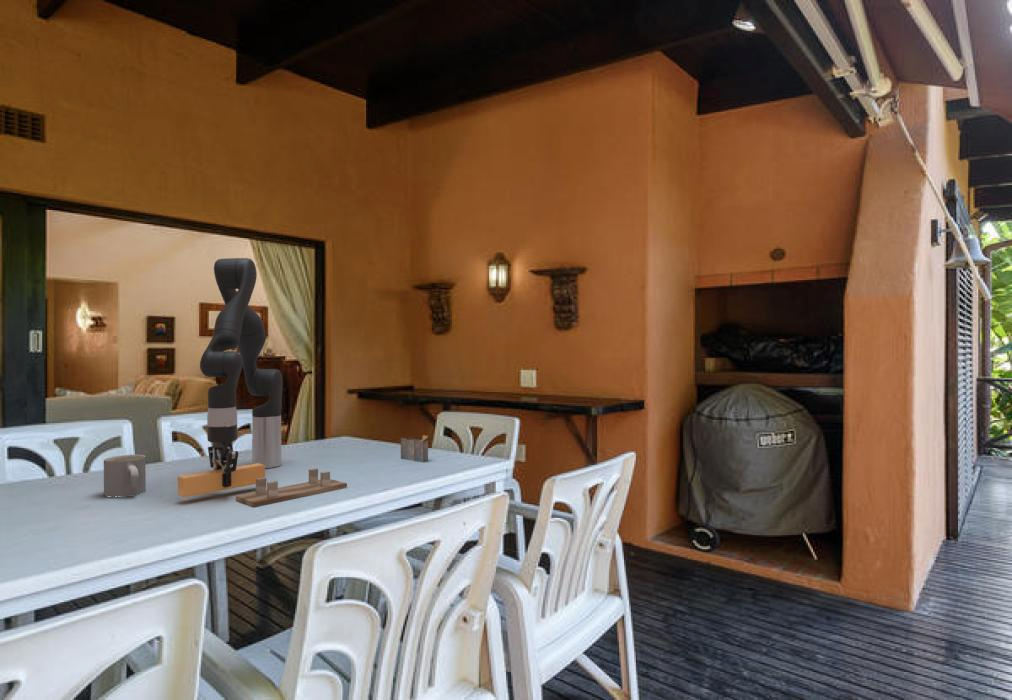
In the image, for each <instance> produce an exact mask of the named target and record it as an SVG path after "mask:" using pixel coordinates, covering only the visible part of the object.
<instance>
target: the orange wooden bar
mask: <svg viewBox="0 0 1012 700" xmlns="http://www.w3.org/2000/svg"><path fill="white" fill-rule="evenodd" d="M222 474H223V473H222V469H219V470H213V469H212V470H208V471H200V472H196V473H190V474H183V475H178V476H177V495H178V496H180V497H182V498H188V497H189V498H190V497H194V496H199V495H204V494H211V493H216V492H220V491H226V490H231V489H236V488H242V487H247V486H253V485H256V479H258V478H266V468H265V465H263V464H260V463H256V464H252V463H251V464H244V465H238V466H236V471H233V472H232V473H231V486H230V487H223V486H222Z"/></svg>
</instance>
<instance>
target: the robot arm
mask: <svg viewBox="0 0 1012 700" xmlns="http://www.w3.org/2000/svg"><path fill="white" fill-rule="evenodd" d="M213 273H214V278H215V281H216V285H217V287H218V290H219V292H220V295H221V297H222V299H223V302H224V305H225V306H223V308H222V309H221V310H220V312H219V313H218V315H217V317H216V318H215V323H214V326H213V327H214V328H213V334H212V337H211V339H210V341H209V342H208V346H207V347H206V349H204V352H203V354H202V355H201V357H200V361H199V367H200V371H201V374H202V375H204V376H205V377H209V378H217V377H218V378H226V381H225V382H224V383H222V384H218V385H213V386H211V387H209V388H208V390H207V413H206V414H207V415H206V416H207V417H206V421H207V422H206V423H207V425H206V426H207V427H206V428H207V433H206V435H207V437H206V438H207V442H209V443H212V445H211V446H208V447H207V453H208V457H209V466H210V468H212V471H213V470H219V469H222V473H223V474H222V486H223V487H230V486H231V473H232V472H233V471H236V467H237V465H238V457H239V451H238V450H236V451H235V450H234V447H233V442H234V441H236V440H237V439H238V409H237V390H238V388H237V387H238V383H239V379H240V377H241V376H240V375H241V373H242V369H243V375H244V379H245V385H246V388H247V391H248V393H249V394H250V395H251V396H255V397H268V400H267V401H266V402H265V403H263V404H261V405H257V406H255V407H254V408H252V409H251V410H252V411H251V416H252V417H251V419H252V422H251V423H252V425H251V426H252V429H251V430H252V433H251V434H252V436H251V437H252V438H251V450H252V451H251V457H252V458H251V464H256V463H260V464H263V465H265V469H270V468H271V469H273V468H278V467H280V466H282V408H283V407H282V405H283V404H282V400H283V399H282V398H283V384H284V383H283V382H284V381H283V374H282V372H281V370H280V369H278V368H276V369H275V368H271V369H270V368H259V367H258V365H257V360H258V358H259V355H260V353H261V351H262V350H263V348H264V346H265V343H266V341H267V334H266V331H265V327H264V322H263V320H262V318H261V317H260V316H259V314H258V312H256V311H255V310H254V309H253V308H252V307H250V306H249V304H250V301H251V299H252V296H253V292H254V289H255V286H256V283H257V273H258V271H257V267H256V264H255V262H254V260H253V259H252V258H248V257H246V258H245V257H237V258H236V257H235V258H233V257H232V258H227V257H226V258H218V259H216V261H215V262H214V266H213ZM236 289H237V290H236ZM236 348H238V352H237V351H231V350H233V349H236ZM229 350H230V351H229Z"/></svg>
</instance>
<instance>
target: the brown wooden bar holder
mask: <svg viewBox="0 0 1012 700" xmlns="http://www.w3.org/2000/svg"><path fill="white" fill-rule="evenodd" d="M319 474H320V475H319ZM319 478H320V479H319ZM278 485H279V482H278V481H277V480H273V481H268V482H267V478H266V477H265V478H258V479H256V484H255V492H251V493H244V494H241V495H236V496H235V501H236V502H239V503H242V504H243V505H247V506H250V507H252V508H257V507H261V506H265V505H271V504H276V503H280V502H285V501H286V502H287V501H289V500H295V499H300V498H305V497H307V496H313V495H318V494H323V493H327V492H332V491H336V490H341V489H346V487H347V488H348V483H347V482H343V481H339V480H336V479H332V478H331V471H328V470H326V471H322V472H320V473H319V468H311V469H308V481H307V482H301V483H297V484H291V485H287V486H281V487H279V486H278Z"/></svg>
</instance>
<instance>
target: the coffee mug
mask: <svg viewBox="0 0 1012 700" xmlns="http://www.w3.org/2000/svg"><path fill="white" fill-rule="evenodd" d="M146 469H147V468H146V455H144V454H123V455H115V456H111V457H106V458H104V459H103V496H104V495H105V496H111V497H115V496H117V497H118V496H129V495H135V494H139V495H141V494H140V493H142V494H144V493H146V491H147V489H146V487H147V486H146V483H147V480H146V477H147V473H146V472H147V471H146ZM143 492H144V493H143ZM105 496H104V497H105ZM135 496H136V495H135ZM129 497H130V496H129Z"/></svg>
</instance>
